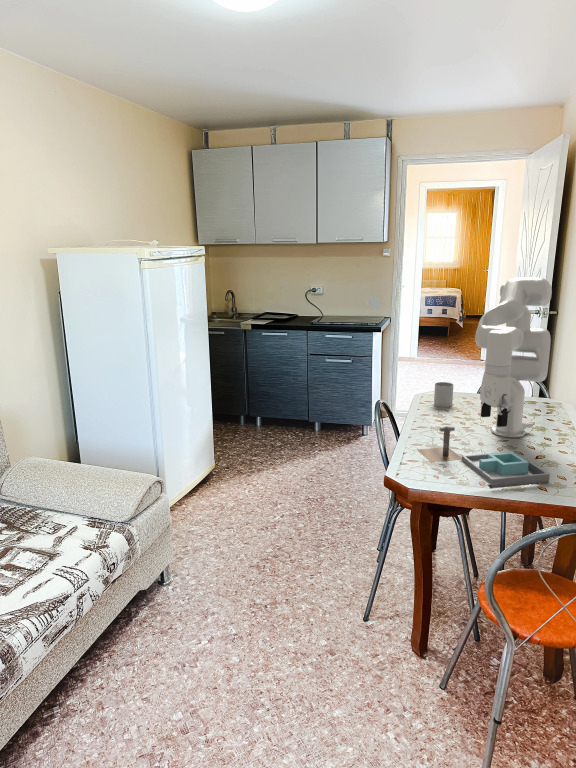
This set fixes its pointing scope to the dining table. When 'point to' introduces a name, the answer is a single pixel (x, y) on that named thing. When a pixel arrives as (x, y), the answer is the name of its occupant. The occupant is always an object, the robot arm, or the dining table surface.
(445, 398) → the cup
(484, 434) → the dining table surface
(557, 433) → the dining table surface
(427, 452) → the stake board
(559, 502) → the dining table surface
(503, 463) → the teal hollow frame
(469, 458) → the tray
